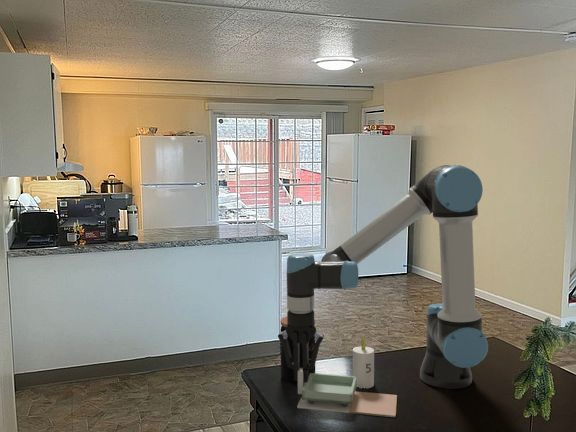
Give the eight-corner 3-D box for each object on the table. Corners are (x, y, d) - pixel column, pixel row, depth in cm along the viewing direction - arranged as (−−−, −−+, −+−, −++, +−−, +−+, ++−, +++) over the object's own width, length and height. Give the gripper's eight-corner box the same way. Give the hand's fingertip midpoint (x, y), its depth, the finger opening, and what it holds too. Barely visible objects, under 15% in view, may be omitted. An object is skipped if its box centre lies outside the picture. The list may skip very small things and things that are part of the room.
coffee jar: (312, 385, 160) (312, 326, 159) (277, 383, 163) (276, 324, 161) (317, 372, 171) (317, 316, 169) (284, 369, 173) (284, 314, 171)
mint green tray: (356, 391, 155) (356, 376, 154) (351, 410, 143) (352, 394, 143) (310, 387, 158) (310, 372, 157) (302, 405, 146) (302, 390, 146)
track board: (396, 396, 153) (397, 395, 153) (395, 417, 140) (395, 415, 140) (306, 388, 158) (306, 387, 158) (297, 407, 146) (297, 406, 146)
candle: (358, 390, 157) (359, 339, 156) (348, 381, 163) (349, 333, 162) (378, 387, 159) (378, 337, 158) (367, 378, 165) (368, 330, 164)
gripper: (326, 307, 152) (326, 388, 154) (281, 305, 155) (282, 384, 157) (321, 314, 145) (322, 399, 147) (274, 312, 148) (275, 395, 150)
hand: (301, 391), depth 152 cm, fingers closed
